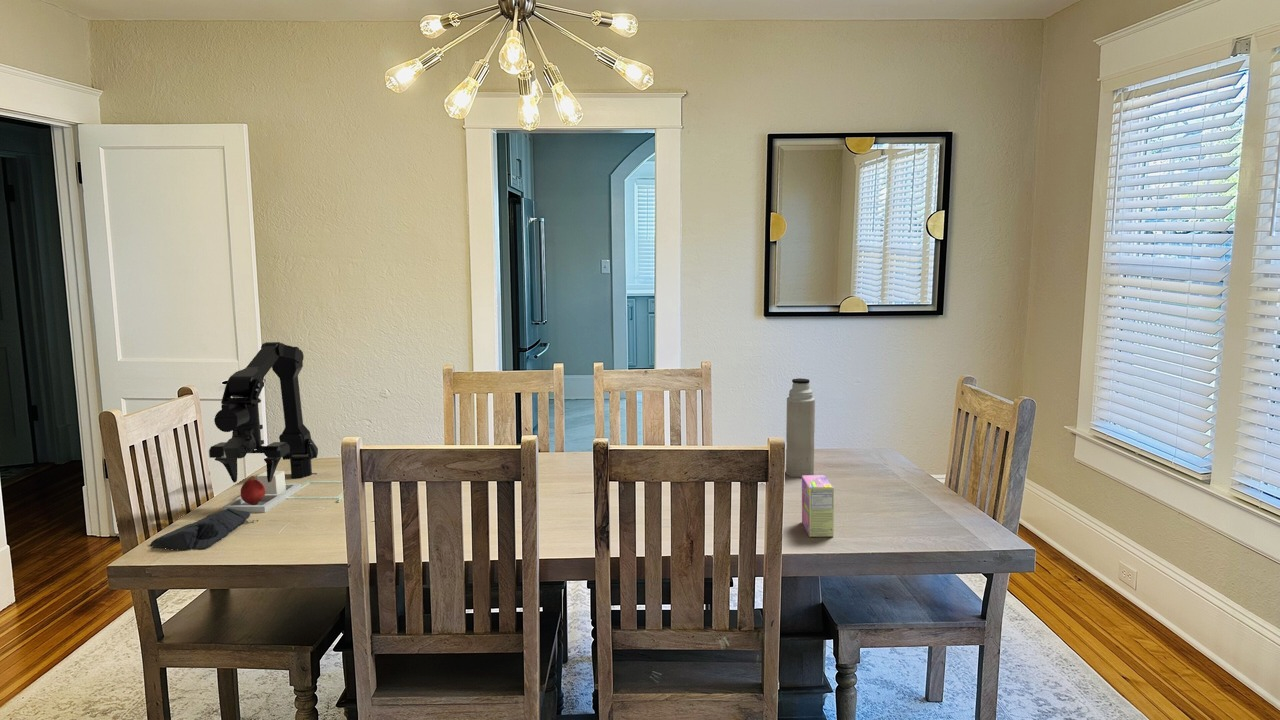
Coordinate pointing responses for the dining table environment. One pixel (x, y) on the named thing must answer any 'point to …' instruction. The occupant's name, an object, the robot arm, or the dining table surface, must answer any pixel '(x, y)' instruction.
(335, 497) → the pale green square frame
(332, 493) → the dining table surface
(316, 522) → the dining table surface
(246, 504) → the grey divided tray
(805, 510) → the box
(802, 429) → the thermos bottle
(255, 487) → the onion
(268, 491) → the cream block
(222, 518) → the dark folded cloth
